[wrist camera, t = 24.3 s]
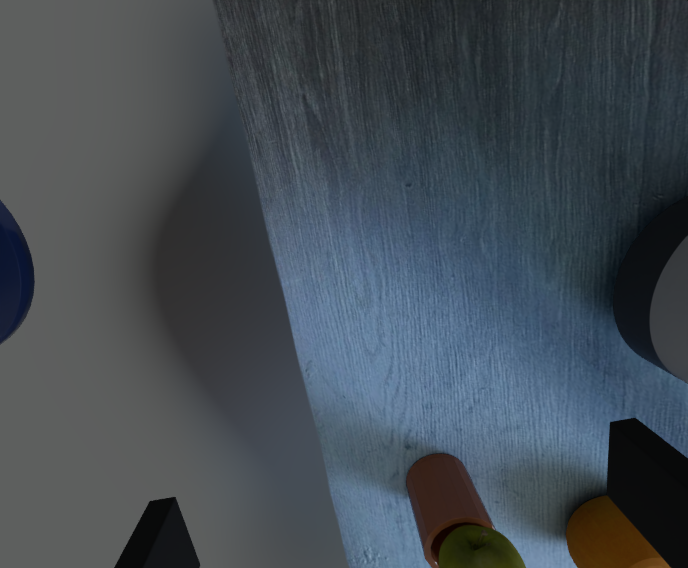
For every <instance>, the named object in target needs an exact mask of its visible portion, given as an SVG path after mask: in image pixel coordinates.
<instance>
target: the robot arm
mask: <svg viewBox="0 0 688 568" xmlns="http://www.w3.org/2000/svg"><path fill="white" fill-rule="evenodd" d="M606 495H607V496H608V497H609V498H610V499H611V501H612V502H613V503H614V504H615V505H616V506H617V507H618V508H619V510H620V511H621V512H622V513H623V514H624V515H625V516H626V517H627V519H628V520H629V521H630V522H631V523H632V524H633V525H634V527H635V528H636V529H637V530H638V531H639V532H640V533H641V534H642V536H643V537H644V538H645V539H646V540H647V541H648V542H649V543H650V545H651V546H652V547H653V548H654V549H655V550H656V551H657V552H658V554H659V555H660V556H661V557H662V558H663V559H664V560H665V562H666V563H667V564H668V565H669V566H670V567H671V568H688V458H686V457H685V456H684V455H683V454H681V453H680V452H679V451H677V450H676V449H675V448H674V447H672V446H671V445H670V444H668V443H667V442H666V441H665V440H663V439H662V438H661V437H659V436H658V435H657V434H656V433H654V432H653V431H652V430H650V429H649V428H648V427H647V426H645V425H644V424H643V423H641V422H640V421H639V420H638V419H636V418H631V419H625V420H619V421H614V422H610V433H609V453H608V472H607V492H606ZM199 567H200V563H199V560H198V557H197V555H196V552H195V549H194V546H193V544H192V541H191V538H190V535H189V533H188V530H187V527H186V525H185V522H184V519H183V516H182V514H181V511H180V508H179V505H178V503H177V500H176V497H171V498H166V499H160V500H154V501H150V502H149V504H148V506H147V508H146V510H145V511H144V513H143V515H142V517H141V519H140V521H139V522H138V524H137V526H136V528H135V530H134V532H133V534H132V536H131V537H130V539H129V541H128V543H127V545H126V547H125V549H124V550H123V552H122V554H121V556H120V558H119V560H118V562H117V564H116V565H115V567H114V568H199Z"/></svg>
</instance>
